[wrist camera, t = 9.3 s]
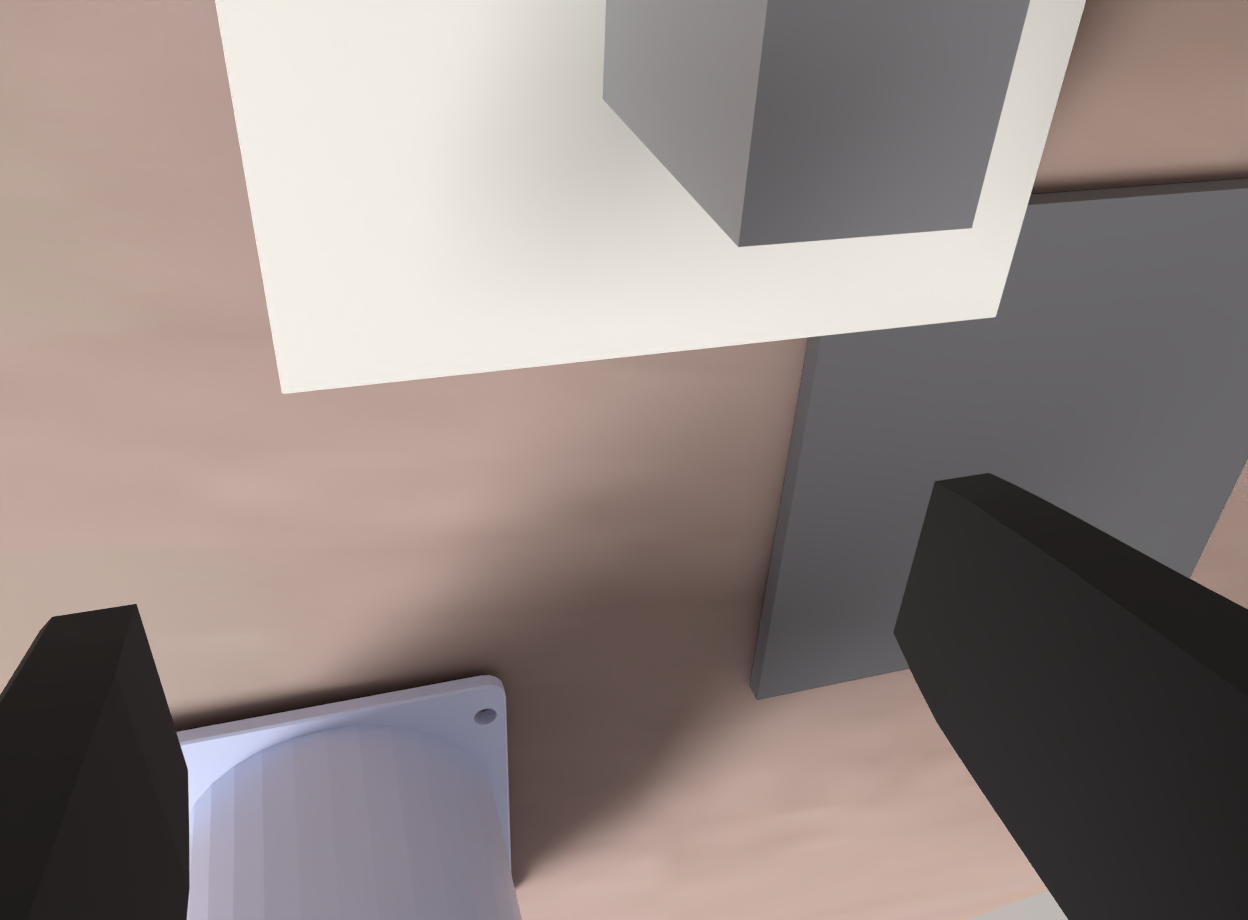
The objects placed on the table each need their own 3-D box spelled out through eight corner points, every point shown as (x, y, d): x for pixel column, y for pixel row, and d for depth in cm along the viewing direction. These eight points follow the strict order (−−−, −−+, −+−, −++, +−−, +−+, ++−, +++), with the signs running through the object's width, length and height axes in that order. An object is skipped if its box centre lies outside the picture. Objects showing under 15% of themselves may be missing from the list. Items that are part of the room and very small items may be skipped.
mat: (1159, 602, 30) (1171, 614, 30) (749, 685, 27) (757, 699, 26) (1364, 169, 23) (1384, 177, 22) (830, 208, 19) (842, 219, 19)
